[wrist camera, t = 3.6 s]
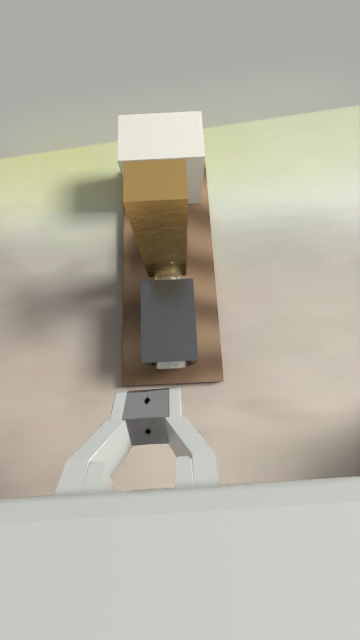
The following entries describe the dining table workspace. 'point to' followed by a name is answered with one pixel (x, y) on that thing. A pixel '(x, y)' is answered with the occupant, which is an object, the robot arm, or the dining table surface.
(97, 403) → the dining table surface
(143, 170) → the block rod assembly
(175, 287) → the dark gray block
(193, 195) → the cream socket block
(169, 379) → the walnut base board
